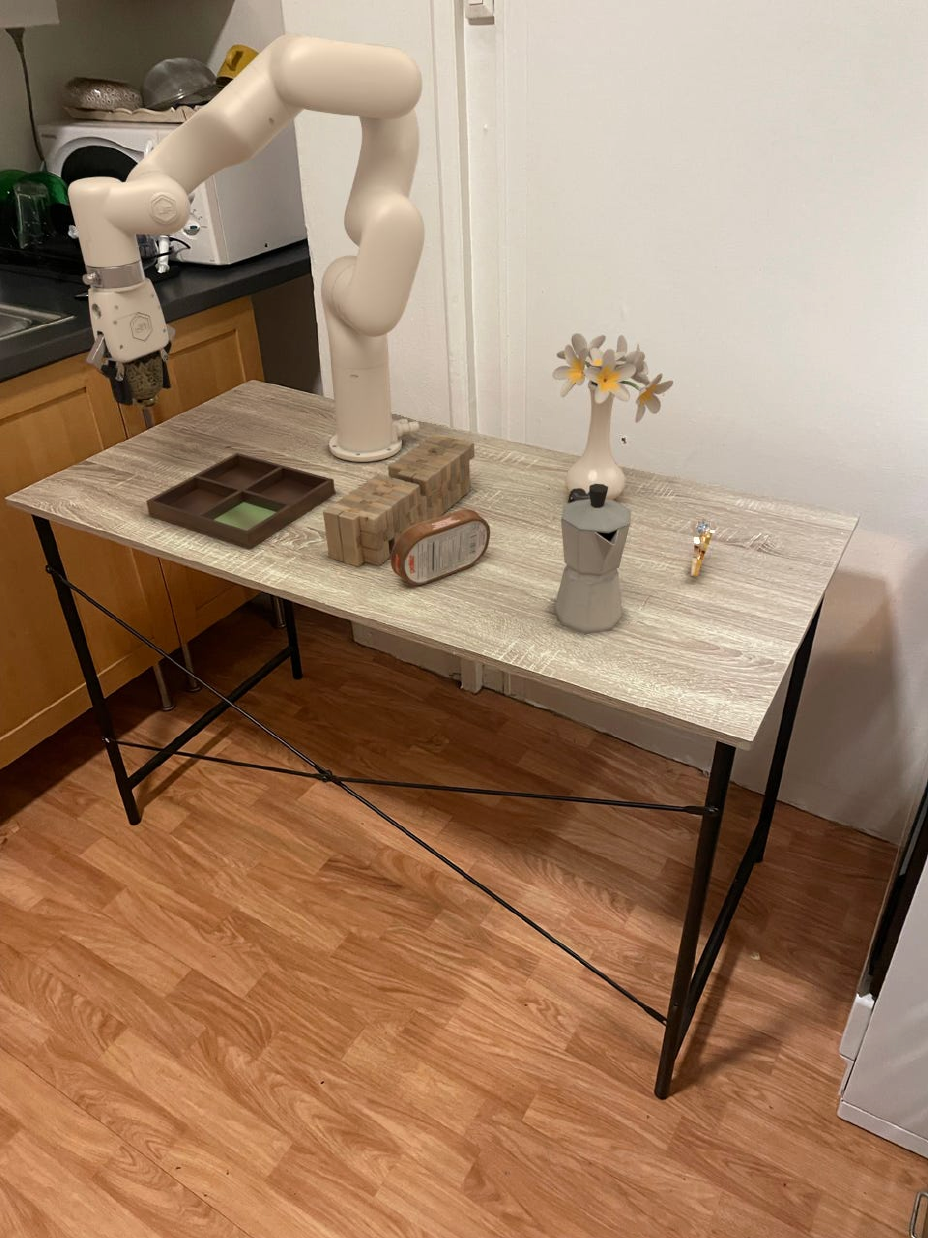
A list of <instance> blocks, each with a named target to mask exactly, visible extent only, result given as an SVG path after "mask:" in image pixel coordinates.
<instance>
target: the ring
mask: <svg viewBox="0 0 928 1238" xmlns="http://www.w3.org/2000/svg"><path fill="white" fill-rule="evenodd" d="M690 526H691V530H692V533H693V541H694V542H693V544H694V545H693V556H692V563H691V569H690V575H691V577H696V578H697V577H698V576H699V575H700V569H701V565H702V563H703V560H704V557H705V555H706V552H707V549H708V546H709V544H710V541H711V538H712V536H713V534H714V533H715V531H716V526H715V525H713V524H712V521H708V523H706V518H702V521H700V520H698V521H697V522H695V523H691V524H690Z"/></svg>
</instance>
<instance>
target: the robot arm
mask: <svg viewBox="0 0 928 1238" xmlns="http://www.w3.org/2000/svg"><path fill="white" fill-rule="evenodd" d="M418 65H419V64H418V63H417V62H416V60H415V59H414V58H413V57H412V55H411V54H409V53H408V52H406V51H405V50H403V49H401V48H399V47H395V46H388V45H383V44H378V43H377V44H376V43H356V42H348V41H343V40H342V41H341V40H334V39H329V38H325V37H324V38H323V37H320V36H314V35H308V34H301V33H294V32H293V33H291V32H290V33H285V34H282V35H280V36H278V37H277V38H275V39H274V40H273V41H271V42H270V43H269V44H268V45H267V46H265V48H264V49H263V50H262V51H260V53H258V55H256V56H255V57H254V58H253V60H251V61H250V62H249V63H248V64H247V65H246V66H245V67H244V68H243V69H242V70H241V71H240V72H239V73H237V75H236V76H235V77H234V78H233V79H232V80H231V81H230V82H229V83H228V84H226V86H225V87H224V88H222V90H220V91H219V92H218V93H217V94H216V95H215V96H214V97H213V98H212V99H211V100H210V101H208V103H206V104H205V105H204V106H202V107H201V108H199V109H198V110H197V111H196V112H195V113H194V114H192V115H191V117H189V118H188V119H187V120H186V121H184V122H183V123H181V124H180V125H179V126H178V127H176V128H175V129H174V130H173V131H171V132H170V133H168V135H166V136H165V137H163V139H162V140H161V141H160V142H159V143H158V144H157V145H156V146H154V147H153V149H152V150H150V152H148V154H146V155H145V156H144V158H142V159H141V160H140V161H139V162H138V163H137V164H136V165H135V166H134V167H133V168H132V169H131V171H130V172H129V174H128V176H127V178H126V180H125V181H121V180H120V179H118V178H115V177H111V176H92V177H84V178H80V179H76V180H74V181H72V182H71V183H70V184H69V186H68V189H67V196H68V201H69V205H70V208H71V212H72V216H73V220H74V224H75V229H76V233H77V236H78V241H79V245H80V248H81V253H82V257H83V261H84V265H85V270H86V273H85V274H83V275H82V281H83V283H84V284H85V285H87V286H90V288H89V289H88V290H87V291H88V307H89V316H90V323H91V328H92V333H93V338H94V343H93V345H92V347H91V349H90V351H89V352H88V354H87V356H86V359H85V361H86V363H87V364H88V365H89V366H91V367H92V368H93V369H95V370H96V372H98V373H99V374H101V375H103V376H104V377H105V378H106V379H109V383H110V388H111V391H112V395H113V398H114V401H115V402H116V404H121V405H124V406H128V407H130V406H132V405H134V404H133V398H132V395H131V391H130V387H129V383H128V380H127V379H124V378H123V377H124V370H125V367H124V364H125V363H126V362H130V361H133V360H135V359H138V358H140V357H143V356H145V355H148V354H150V353H153V352H156V353H157V354H158V351H159V350H160V352H161V359H162V369H163V386H162V389H166V390H169V389H171V388H172V383H171V379H170V374H169V369H168V365H167V363H168V362H169V360H170V356H169V354H170V351H171V349H172V347H173V341H174V338H175V336H176V328H175V327H172V326H171V325H170V324H168V323H166V320H165V316H164V313H163V309H162V306H161V303H160V300H159V297H158V295H157V292H156V290H155V288H154V285H153V283H152V281H151V279H150V278H148V277H146V276H145V271H144V267H143V261H142V258H141V252H140V248H139V243H138V238H137V235H147V236H148V235H149V236H169V235H173V234H175V233H176V234H177V233H178V232H180V231H181V230H182V229H183V228H184V227H185V226H186V225H187V223H188V222H189V220H190V216H191V201H190V199H189V196H190V195H191V194H192V193H193V192H194V191H195V190H196V189H197V188H198V187H199V186H200V185H202V184H203V183H204V182H205V181H207V180H208V179H209V178H210V177H212V176H214V175H215V174H218V172H221V171H222V170H224V169H227V168H229V167H233V166H238V165H240V164H244V163H245V162H248V161H249V160H251V159H252V158H255V157H256V156H257V155H258V154H259V153H260V152H261V151H263V149H264V148H265V147H266V146H267V145H268V144H269V143H270V142H272V140H274V138H276V136H278V134H280V132H282V131H283V130H284V129H285V128H286V127H287V126H288V125H289V124H290V123H291V122H293V120H295V119H296V118H297V116H298V115H300V114H301V113H302V112H303V111H304V110H306V111H311V112H318V113H324V114H332V115H337V116H338V115H339V116H340V115H341V116H349V117H350V116H351V117H358V118H359V120H360V127H361V143H360V151H359V155H358V161H357V165H356V169H355V172H354V177H353V181H352V183H351V189H350V191H349V196H348V200H347V204H346V206H345V211H344V218H343V225H344V229H345V232H346V234H347V236H348V238H349V239H350V240H351V241H352V243H353V244H355V246H357V247H358V249H357V254H356V255H343V256H340V257H338V258H336V259H334V260H333V261H332V262H331V263H329V265H328V266H327V267H326V269H325V270H324V273H323V276H322V278H321V284H320V295H321V304H322V309H323V315H324V319H325V324H326V330H327V335H328V336H327V337H328V344H329V355H330V368H331V369H330V370H331V379H332V380H331V381H332V390H333V403H334V412H335V424H336V433H335V435H333V436H332V437H331V438H330V440H329V443H328V447H329V451H330V453H331V454H332V455H333V456H335V457H336V458H339V459H342V460H344V461H349V462H357V463H359V462H360V463H368V462H377V461H381V460H386V459H388V458H391V457H392V456H393V457H394V455H396V454H398V453H399V452H400V451H401V450H402V447H403V440H402V437H403V435H407V434H416V433H417V434H418V433H419V432H420V424H419V421H417V420H416V421H415V420H414V421H409V422H408V418H401V419H398V420H395V419H393V417H392V401H391V400H392V399H391V382H390V379H391V378H390V362H389V360H390V357H389V356H390V355H389V343H388V334H389V333H390V332H391V331H392V330H393V329H394V328H396V327H397V325H398V324H399V322H400V321H401V319H402V318H403V314H404V312H405V310H406V308H407V305H408V301H409V298H410V295H411V291H412V288H413V285H414V281H415V278H416V275H417V272H418V267H419V264H420V260H421V257H422V253H423V250H424V246H425V245H424V244H425V235H426V234H425V233H426V231H425V222H424V219H423V218H424V217H423V216H422V213H421V211H420V209H419V208H418V206H417V205H416V204H415V203H414V202H413V201H412V199H410V194H411V190H412V186H413V183H414V182H413V181H414V178H415V172H416V168H417V164H418V160H419V159H418V158H419V154H420V153H419V152H420V128H419V127H420V126H419V122H418V117H417V114H416V110H415V108H416V107H417V105H418V103H419V101H420V99H421V96H422V92H423V76H422V72H421V70H420V67H419V66H418ZM102 359H105V362H104V361H103V360H102ZM112 362H114V364H115V362H116V369H115V370H114V366H113V363H112Z"/></svg>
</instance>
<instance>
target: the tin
mask: <svg viewBox="0 0 928 1238" xmlns="http://www.w3.org/2000/svg"><path fill="white" fill-rule="evenodd" d="M490 539H491V528H490V525H489V523H488V522H487V520H486V519H485V518H483V517H482V516H481V515H480V514H479V513H478V512H477V511H475V510H473V509H471V508H462V509H458V510H456V511H452V512H450V513H449V512H448V513H447V514H442V515H441V516H440V517H437V518H434V519H431V520H428V521H425V522H422V523H419V524H416V525H413V526H411V527H410V528H408V529H407V530H406V531H404V532H403V533H402V534H401V536H400V537H399V538H398V539H397V541H396V542H395V544H394V546H393V549H392V551H390V567H391V569H392V570H393V571H392V572H394V573H395V574H396V576H398V577H400V578H401V579H402V580H403V581H405V582H406V583H408V584H410V585H413V586H422V585H425V584H428V583H431V582H434V581H437V580H439V579H442V578H444V577H447V576H450V575H452V574H456V573H459V572H460V571H463V570H466V569H469V568H470V567H473V566H474V565H475V564H477V563H478V562H479V561H480V560H481V559H482V557H483V556H484V555H485V553H486V551H487V550H488V548H489V545H490V544H489V543H490Z"/></svg>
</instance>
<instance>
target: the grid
mask: <svg viewBox="0 0 928 1238" xmlns="http://www.w3.org/2000/svg"><path fill="white" fill-rule="evenodd" d="M334 482H335V480H334V479H333V478H331V477H326V476H323V475H319V474H315V473H312V472H308V471H305V470H301V469H297V468H294V467H290V466H287V465H283V464H279V463H276V462H273V461H269V460H265V459H262V458H258V457H255V456H252V455H247V454H244V453H240V452H235V453H233V454H232V455H230V456H228V457H226V458H224V459H222V460H220V461H218V462H217V463H215V464H213V465H211V466H209V467H206V468H205V469H204V470H202V471H200V472H198V473H196V474H194V475H192V476H190V477H189V478H187V479H185V480H182V481H181V482H179V483H177V484H175V485H174V486H171V487H170V488H168V489H165V490H164V491H162V492H161V493H158V494H157V495H155V496H153V497H151V498H149V499H148V500H146V501H145V503H146V506H147V507H146V508H147V511H148V516H149V517H151V518H153V519H157V520H160V521H163V522H166V523H169V524H172V525H174V526H177V527H181V528H184V529H187V530H190V531H193V532H196V533H198V534H202V535H205V536H208V537H212V538H214V539H217V540H220V541H223V542H226V543H229V544H231V545H235V546H238V547H241V548H244V549H246V550H252V549H253V548H255V547H256V546H258V545H260V544H261V543H263V542H264V541H266V540H267V539H268V538H271V537H272V536H273V535H275V534H276V533H278V532H280V531H281V530H283V529H284V528H285V527H287V526H288V525H290V524H292V523H293V522H294V521H296V520H297V519H299V518H300V517H302V516H304V515H305V514H307V513H308V512H310V511H311V510H313V509H314V508H316V507H318V506H319V505H320V504H322V503H323V502H325V501H326V500H329V499H330V498H331V497H333V496H334V495H335V494H336V492H335V483H334Z"/></svg>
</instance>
